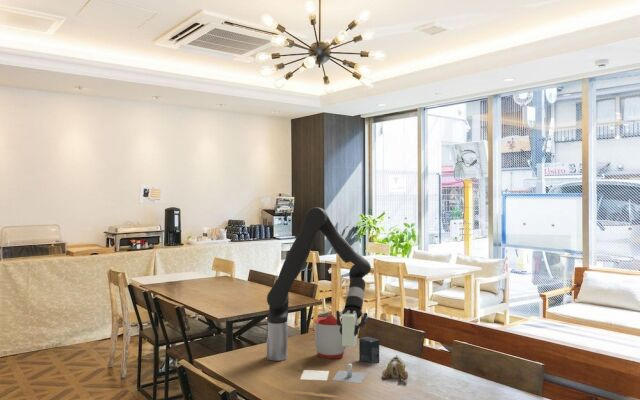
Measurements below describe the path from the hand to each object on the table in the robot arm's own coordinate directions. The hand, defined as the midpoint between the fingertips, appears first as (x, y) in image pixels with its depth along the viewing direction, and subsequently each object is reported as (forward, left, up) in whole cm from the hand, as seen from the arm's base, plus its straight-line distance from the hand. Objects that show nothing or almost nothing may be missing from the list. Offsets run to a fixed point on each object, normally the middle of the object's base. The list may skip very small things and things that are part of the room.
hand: (348, 334), depth 202 cm
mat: (-14, +2, -19) cm, 24 cm away
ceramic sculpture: (+20, +6, -19) cm, 28 cm away
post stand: (+1, +2, -19) cm, 19 cm away
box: (+9, +25, -19) cm, 32 cm away
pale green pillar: (0, +2, -5) cm, 5 cm away
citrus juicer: (-9, +32, -19) cm, 38 cm away
